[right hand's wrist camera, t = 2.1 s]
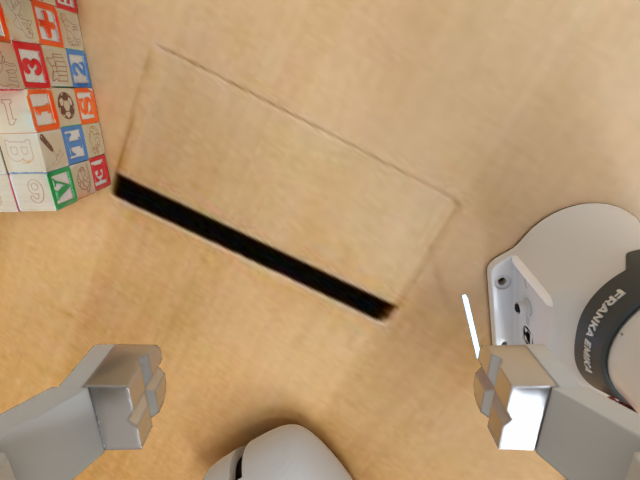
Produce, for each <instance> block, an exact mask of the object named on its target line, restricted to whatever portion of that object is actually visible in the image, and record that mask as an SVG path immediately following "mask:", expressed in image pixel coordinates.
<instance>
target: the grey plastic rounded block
mask: <svg viewBox="0 0 640 480" xmlns="http://www.w3.org/2000/svg"><path fill="white" fill-rule="evenodd" d="M203 480H353V479H352V478H351V476H350V475H349V473H348V472H347V470H346V469H345V468H344V466H343V465H342V464H341V463H340V461H339V460H338V459H337V458H336V456H335V455H334V454H333V453H332V452H331V451H330V450H329V448H328V447H327V446H326V445H325V444H324V443H323V442H322V441H321V440H320V439H319V438H318V437H317V436H316V435H314V434H313V433H312V432H311V431H309V430H308V429H306V428H305V427H303V426H300V425H297V424H287V425H283V426H280V427H277V428H274V429H272V430H270V431H268V432H266V433H264V434H262V435H260V436H258V437H257V438H255V439H253V440H251V441H250V442H249V443H248V444H247V446H241V447H239V448H237V449H236V450H234V451H232V452H231V453H229V454H227V455H226V456H224V457H223V458H221V459H220V460H218V461H217V462H216V463H215V464H213V465H212V466H211V467H210V468H209V470H208V471H207V473H206V474H205V476H204V478H203Z"/></svg>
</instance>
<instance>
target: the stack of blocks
mask: <svg viewBox="0 0 640 480" xmlns="http://www.w3.org/2000/svg"><path fill="white" fill-rule="evenodd" d="M77 13H78V11H77V5H76V0H0V212H19V211H57V210H60V209H62V208H64V207H66V206H68V205H70V204H72V203H74V202H77V200H78V199H81V198H84V197H86V196H88V195H90V194H93V193H94V192H95V191H98V190H100V189H102V188H105V187H107V186H109V185H110V184H111V182H110V178H109V173H108V168H107V163H106V159H105V155H104V153H105V149H104V143H103V138H102V133H101V128H100V124H99V118H98V112H97V107H96V102H95V97H94V91H93V89H92V85H91V80H90V75H89V70H88V65H87V60H86V54H85V52H84V46H83V41H82V35H81V30H80V26H79V20H78V16H77Z"/></svg>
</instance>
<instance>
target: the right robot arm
mask: <svg viewBox="0 0 640 480" xmlns="http://www.w3.org/2000/svg"><path fill="white" fill-rule="evenodd" d="M500 278H504V279H503V280H502V281H501V282H498V280H499V279H500ZM487 280H488V294H489V307H490V321H491V334H492V345H482V346H481V348H480V349H479V345H478V341H477V336H476V332H475V328H474V323H473V319H472V315H471V310H470V306H469V302H468V298H467V296H466V295H462V296H463V301H464V305H465V309H466V313H467V317H468V322H469V326H470V330H471V334H472V339H473V343H474V347H475V351H476V356H477V359H478V361H479V362H480V364H481V366H482V367H481V368H480V369H479V370H478V371H477V372H476V373H475V378H474V395H475V399H476V402H477V405H478V407H479V409H480V412H481V413H483V414H484V415H486V416H487V417H488V418H489V421H488V428H489V430H490V432H491V434H492V436H493V438H494V440H495V443H496V445H497V447H498V449H511V450H536V453H537V454H538V455H540V456H541V457H542V458H543V459H544V460H545V461H547V462H548V463H549V464H550V465H551V466H552V467H553V468H555V469H556V470H557V471H558V472H559V473H560V474H562V475H563V476H564V477H565V478H566V479H567V480H640V222H639V220H638V219H637V218H636V217H634V216H633V215H632V214H631V213H629V212H627V211H626V210H624V209H622V208H619V207H616V206H613V205H609V204H602V203H587V204H580V205H575V206H571V207H568V208H565V209H562V210H560V211H558V212H556V213H554V214H552V215H550V216H548V217H546V218H545V219H543V220H542V221H541V222H539V223H538V224H537V225H535V226H534V227H533V228H532V229H531V230H530V231H529V232H528V233H527V234H526V235H525V236H524V237H523V239H522V240H521V241H520V242H519V243H518V244H517V245H516V246H515V247H514V248H512V249H511V250H509V251H507V252H505V253H503V254H501V255H500V256H498V257H496V258H495V259H494V260H492V261H491V262H490V263H489V265H488V267H487ZM161 361H162V355H161V350H160V347H158V346H157V345H138V344H118V345H117V344H98V345H95V346H93V347H92V348H91V349H90V351H89V352H88V353H87V354H86V355H85V356H84V358H83V359H82V360H81V361H80V362H79V363H78V365H77V366H76V367H75V368H74V369H73V370H72V372H71V373H70V374H69V375H68V376H67V378H66V379H65V380H64V381H63V382H62V383H61V385H60V386H59V387H51V388H49V389H48V390H46V391H44V392H42V393H40V394H38V395H36V396H34V397H32V398H30V399H28V400H27V401H25V402H23V403H21V404H19V405H17V406H15V407H13V408H11V409H9V410H7V411H6V412H4V413H2V414H0V480H73V479H74V478H75V477H76V476H77V475H79V474H80V473H81V472H82V471H83V470H84V469H86V468H87V467H88V466H89V465H90V464H91V463H92V462H94V461H95V460H96V459H97V458H98V457H99V456H101V455H102V454H103V453H104V450H129V449H142V447H143V445H144V443H145V441H146V438H147V436H148V434H149V432H150V430H151V428H152V421H151V418H152V417H153V416H154V415H156V414H157V413H159V412H160V409H161V407H162V405H163V403H164V398H165V394H166V377H165V373H164V372H163V371H162V370H161V369H160V368H159V367H158V366H159V364H160V362H161Z"/></svg>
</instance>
